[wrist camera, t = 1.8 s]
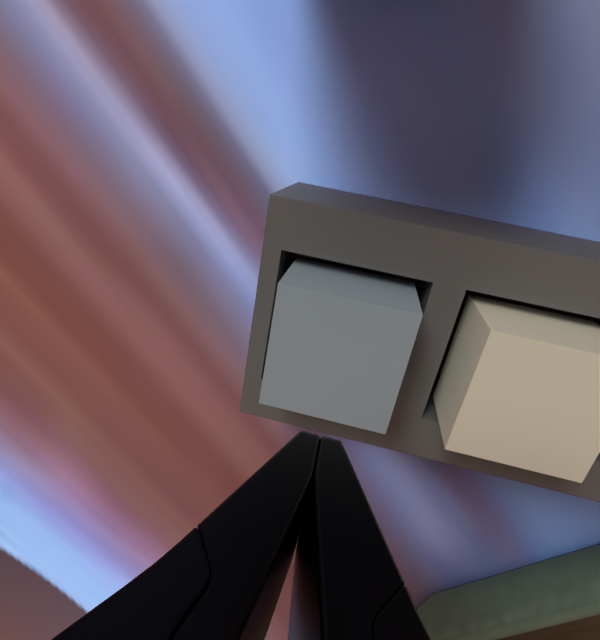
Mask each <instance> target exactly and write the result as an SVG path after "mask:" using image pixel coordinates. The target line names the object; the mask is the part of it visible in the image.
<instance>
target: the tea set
mask: <svg viewBox="0 0 600 640" xmlns="http://www.w3.org/2000/svg"><path fill="white" fill-rule="evenodd" d="M417 611H418V614H419V616H420V618H421V620H422V622H423V624H424V626H425V628H426V630H427V632H428V634H429V636H430V639H431V640H600V544H599V545H595V546H592V547H589V548H585V549H582V550H578V551H575V552H572V553H568V554H565V555H562V556H558V557H555V558H552V559H548V560H545V561H542V562H538V563H535V564H531V565H528V566H525V567H521V568H518V569H515V570H511V571H508V572H505V573H501V574H498V575H494V576H491V577H488V578H484V579H481V580H478V581H474V582H471V583H468V584H464V585H461V586H458V587H454V588H451V589H447V590H444V591H441V592H437V593H434V594H432V595H431V596H430V597H429V598H428V599H427V600H426V601H424V602H423V603H422V604H421V605H420V606H419V607H418V608H417Z"/></svg>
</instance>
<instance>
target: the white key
mask: <svg viewBox="0 0 600 640" xmlns="http://www.w3.org/2000/svg"><path fill="white" fill-rule="evenodd" d="M433 398H434V403H435V407H436V412H437V416H438V421H439V426H440V430H441V435H442V439H443V444H444V448H445V449H446V450H450V451H454V452H458V453H462V454H466V455H470V456H474V457H478V458H482V459H486V460H490V461H494V462H498V463H502V464H506V465H510V466H514V467H518V468H522V469H526V470H530V471H534V472H538V473H543V474H547V475H551V476H555V477H559V478H563V479H567V480H571V481H575V482H579V483H582V482H583V480H584V479H585V477H586V475H587V473H588V472H589V470H590V468H591V466H592V465H593V463H594V461H595V459H596V458H597V456H598V454H599V452H600V325H599V324H597V323H596V322H594V321H590V320H585V319H581V318H576V317H571V316H567V315H562V314H557V313H553V312H548V311H543V310H539V309H534V308H530V307H525V306H520V305H516V304H511V303H506V302H502V301H497V300H492V299H488V298H483V297H478V296H474V295H469V296H468V298H467V301H466V304H465V307H464V310H463V312H462V315H461V318H460V321H459V324H458V327H457V329H456V332H455V335H454V338H453V341H452V344H451V346H450V349H449V352H448V355H447V358H446V361H445V363H444V366H443V369H442V372H441V375H440V378H439V380H438V383H437V386H436V389H435V392H434V395H433Z"/></svg>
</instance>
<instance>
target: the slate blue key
mask: <svg viewBox="0 0 600 640" xmlns="http://www.w3.org/2000/svg"><path fill="white" fill-rule="evenodd" d="M422 317H423V314H422V310H421V306H420V302H419V299H418V295H417V291H416V287H415V284H414V282H409V281H404V280H400V279H395V278H390V277H386V276H381V275H376V274H372V273H367V272H363V271H358V270H353V269H349V268H344V267H339V266H335V265H330V264H325V263H321V262H316V261H312V260H307V259H302V258H298V257H297V258H296V259H295V261H294V262H293V263H292V265H291V266H290V268H289V269H288V270H287V272H286V273H285V274H284V276H283V277H282V278H281V280H280V281H279V282H278V287H277V293H276V299H275V305H274V312H273V318H272V324H271V330H270V337H269V343H268V349H267V355H266V361H265V368H264V374H263V380H262V386H261V393H260V399H259V403H261V404H265V405H269V406H273V407H277V408H281V409H285V410H289V411H293V412H297V413H301V414H305V415H309V416H313V417H317V418H321V419H325V420H329V421H333V422H337V423H341V424H345V425H349V426H353V427H357V428H361V429H365V430H369V431H373V432H377V433H382V434H386V431H387V428H388V425H389V422H390V419H391V415H392V412H393V409H394V406H395V403H396V399H397V396H398V393H399V390H400V387H401V383H402V380H403V377H404V374H405V371H406V368H407V364H408V361H409V358H410V355H411V352H412V348H413V345H414V342H415V339H416V336H417V333H418V329H419V326H420V323H421V320H422Z"/></svg>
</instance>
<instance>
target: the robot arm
mask: <svg viewBox="0 0 600 640" xmlns="http://www.w3.org/2000/svg"><path fill="white" fill-rule="evenodd" d="M299 531H300V532H299ZM298 536H299V537H298ZM297 540H298V542H297ZM296 544H297V548H296ZM295 548H296V556H295V565H294V576H293V587H292V598H291V609H290V620H289V631H288V640H431V639H430V636H429V634H428V632H427V630H426V628H425V626H424V624H423V622H422V620H421V618H420V616H419V614H418V611H417V609H416V607H415V605H414V603H413V600H412V598H411V596H410V594H409V591H408V589H407V587H405V586H404V581H403V578H402V576H401V574H400V572H399V569H398V567H397V565H396V563H395V561H394V558H393V556H392V554H391V552H390V549H389V547H388V545H387V543H386V540H385V538H384V536H383V534H382V532H381V529H380V527H379V525H378V523H377V520H376V518H375V516H374V514H373V511H372V509H371V507H370V505H369V503H368V500H367V498H366V496H365V494H364V491H363V489H362V487H361V485H360V482H359V480H358V478H357V476H356V474H355V471H354V469H353V467H352V465H351V462H350V460H349V458H348V456H347V453H346V451H345V449H344V447H343V445H342V443H341V441H339V440H336V439H332V438H328V437H321V439H320V437H319V436H318V435H316V434H312V433H308V432H304V431H301V432H299V433H298V434H297V435H296V436H295V437H294V438H293V439H292V440H290V441H289V442H288V443H287V444H286V445H285V446H284V447H283V448H282V449H281V450H280V451H278V452H277V453H276V454H275V455H274V456H273V457H272V458H271V459H270V460H269V461H267V462H266V463H265V464H264V465H263V466H262V467H261V468H260V469H259V470H258V471H257V472H255V473H254V474H253V475H252V476H251V477H250V478H249V479H248V480H247V481H246V482H245V483H243V484H242V485H241V486H240V487H239V488H238V489H237V490H236V491H235V492H234V493H233V494H231V495H230V496H229V497H228V498H227V499H226V500H225V501H224V502H223V503H222V504H221V505H219V506H218V507H217V508H216V509H215V510H214V511H213V512H212V513H211V514H210V515H209V516H207V517H206V518H205V519H204V520H203V521H202V522H201V523H200V524H199V525H198V526H197V528H194V529H193V530H192V531H191V532H190V533H189V534H188V535H186V536H185V537H184V538H183V539H182V540H181V541H180V542H179V543H178V544H177V545H175V546H174V547H173V548H172V549H171V550H170V551H168V552H167V553H166V554H165V555H164V556H163V557H161V558H160V559H159V560H158V561H157V562H156V563H154V564H153V565H152V566H150V567H149V568H148V569H146V570H145V571H144V572H143V573H141V574H140V575H139V576H137V577H136V578H135V579H133V580H132V581H131V582H129V583H128V584H127V585H125V586H124V587H123V588H121V589H120V590H119V591H117V592H116V593H114V594H113V595H112V596H110V597H109V598H108V599H106V600H105V601H103V602H102V603H101V604H99V605H98V606H97V607H95V608H94V609H92V610H91V611H90V612H88V613H87V614H86V615H84V616H83V617H81V618H80V619H79V620H77V621H76V622H75V623H73V624H72V625H70V626H69V627H68V628H66V629H65V630H63V631H62V632H61V633H60V634H58V635H57V636H55V637H54V638H53V639H51V640H264V639H265V636H266V633H267V630H268V628H269V625H270V622H271V619H272V616H273V613H274V610H275V607H276V604H277V601H278V599H279V596H280V593H281V590H282V587H283V584H284V581H285V578H286V575H287V572H288V570H289V567H290V564H291V561H292V558H293V554H294V551H295Z"/></svg>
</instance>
